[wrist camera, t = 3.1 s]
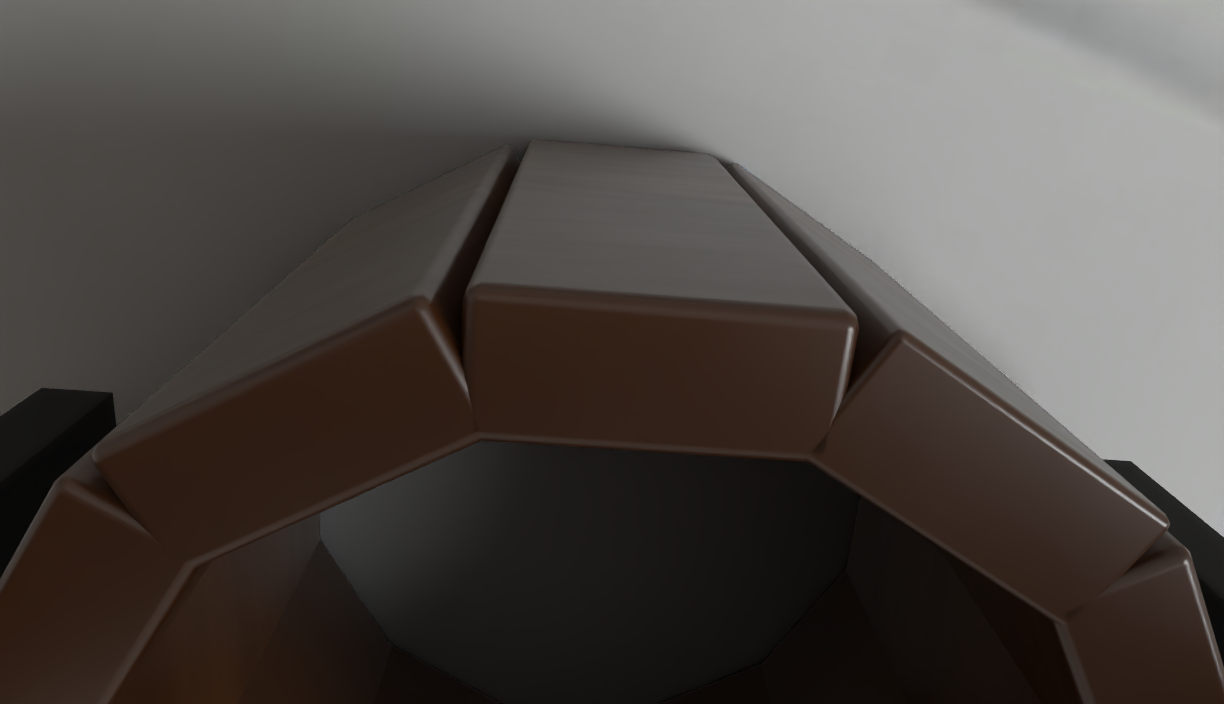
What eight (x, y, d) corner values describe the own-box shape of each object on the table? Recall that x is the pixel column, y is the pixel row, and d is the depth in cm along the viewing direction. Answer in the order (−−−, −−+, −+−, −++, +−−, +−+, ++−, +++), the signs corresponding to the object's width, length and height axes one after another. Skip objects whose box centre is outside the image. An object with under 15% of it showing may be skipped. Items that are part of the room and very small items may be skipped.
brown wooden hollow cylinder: (105, 338, 11) (-395, 678, 5) (782, 8, 10) (1037, 1, 4) (453, 839, 14) (364, 1409, 8) (1015, 619, 13) (1356, 1100, 7)
